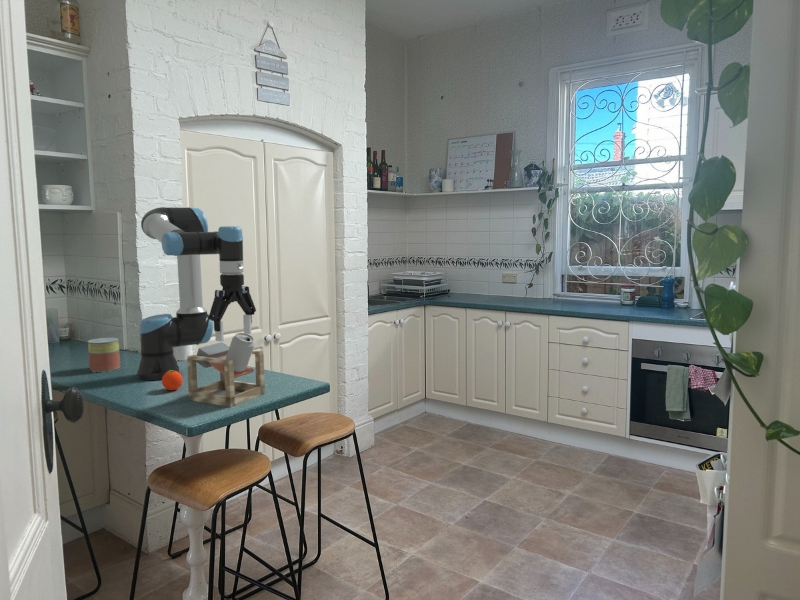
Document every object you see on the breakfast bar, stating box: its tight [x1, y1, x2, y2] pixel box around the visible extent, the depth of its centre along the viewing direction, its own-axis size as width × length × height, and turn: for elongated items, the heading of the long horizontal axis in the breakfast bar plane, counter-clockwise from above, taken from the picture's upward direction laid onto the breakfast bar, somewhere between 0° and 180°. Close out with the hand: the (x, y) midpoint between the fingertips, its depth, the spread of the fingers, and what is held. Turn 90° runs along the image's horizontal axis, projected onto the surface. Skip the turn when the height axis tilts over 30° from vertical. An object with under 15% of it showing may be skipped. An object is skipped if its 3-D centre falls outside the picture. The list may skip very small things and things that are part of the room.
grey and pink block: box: [196, 341, 255, 379], centre depth 199 cm, size 16×13×5 cm
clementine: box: [161, 370, 184, 391], centre depth 209 cm, size 8×7×7 cm
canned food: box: [87, 337, 121, 371], centre depth 239 cm, size 11×11×12 cm
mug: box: [173, 344, 197, 362], centre depth 259 cm, size 12×9×9 cm
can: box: [226, 332, 256, 372], centre depth 196 cm, size 8×8×12 cm
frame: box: [186, 349, 266, 408], centre depth 200 cm, size 18×17×15 cm
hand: (234, 337), depth 197 cm, fingers open, 13 cm apart
